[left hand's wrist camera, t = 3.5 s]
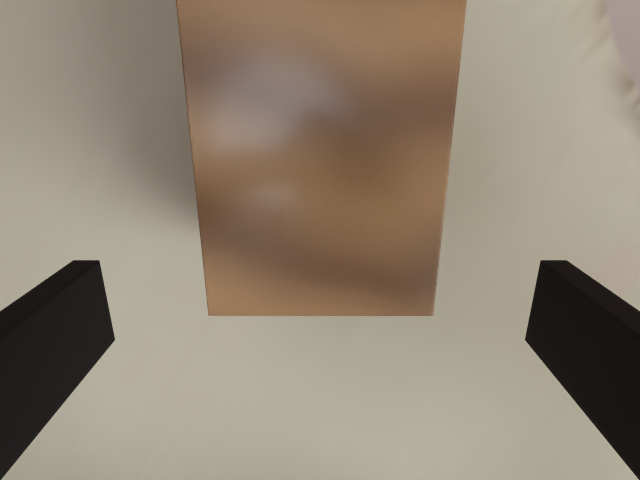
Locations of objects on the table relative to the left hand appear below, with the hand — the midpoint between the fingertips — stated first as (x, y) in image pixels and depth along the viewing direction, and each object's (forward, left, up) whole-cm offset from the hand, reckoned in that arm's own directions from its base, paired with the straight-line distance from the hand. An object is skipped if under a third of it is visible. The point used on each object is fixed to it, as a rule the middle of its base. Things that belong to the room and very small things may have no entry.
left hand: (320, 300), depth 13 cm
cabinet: (+5, -4, -15) cm, 17 cm away
